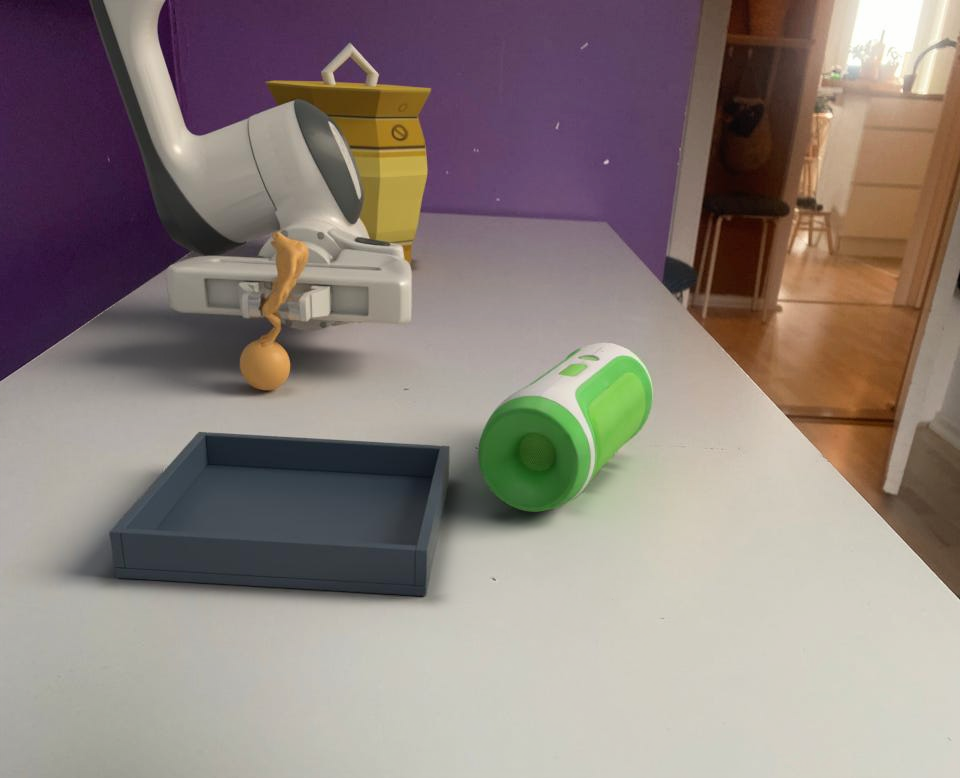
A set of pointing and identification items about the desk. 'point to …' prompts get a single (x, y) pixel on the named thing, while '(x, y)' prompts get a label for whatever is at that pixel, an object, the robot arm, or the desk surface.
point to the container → (374, 143)
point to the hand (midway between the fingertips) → (274, 309)
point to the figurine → (274, 319)
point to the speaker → (565, 427)
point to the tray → (289, 515)
